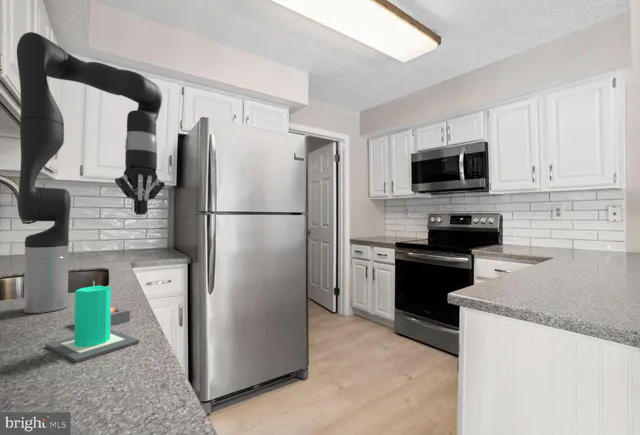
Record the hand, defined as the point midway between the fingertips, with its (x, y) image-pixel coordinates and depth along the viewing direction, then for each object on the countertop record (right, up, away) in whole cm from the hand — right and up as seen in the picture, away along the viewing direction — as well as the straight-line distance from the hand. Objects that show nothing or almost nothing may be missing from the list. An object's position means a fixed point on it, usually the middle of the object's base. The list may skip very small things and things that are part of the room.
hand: (140, 214), depth 89 cm
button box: (-3, -26, -10) cm, 28 cm away
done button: (-3, -26, -10) cm, 28 cm away
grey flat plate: (+4, -26, -24) cm, 36 cm away
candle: (+4, -26, -24) cm, 35 cm away
